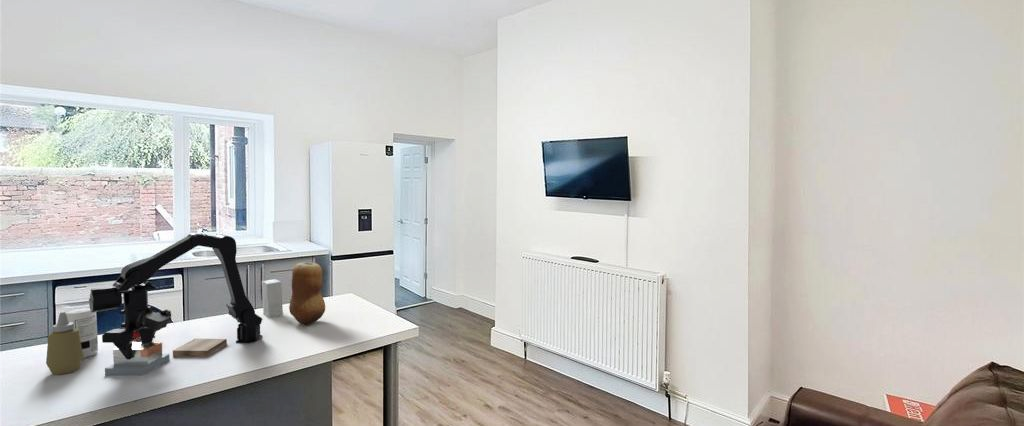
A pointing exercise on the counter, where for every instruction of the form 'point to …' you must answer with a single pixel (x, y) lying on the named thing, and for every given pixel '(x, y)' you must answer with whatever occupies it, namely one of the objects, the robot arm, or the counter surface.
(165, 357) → the slate stand
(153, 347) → the block
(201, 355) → the walnut stand
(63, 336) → the squeeze bottle
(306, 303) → the butternut squash
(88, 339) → the supplement can
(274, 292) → the skincare box
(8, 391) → the counter surface
